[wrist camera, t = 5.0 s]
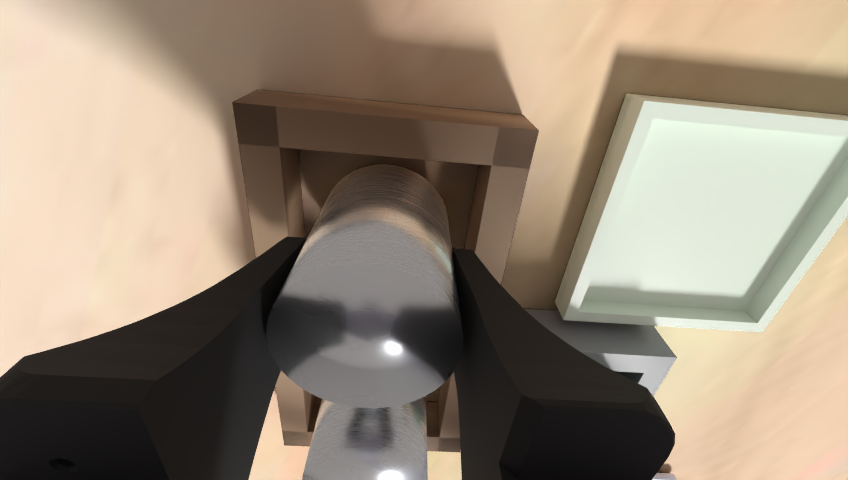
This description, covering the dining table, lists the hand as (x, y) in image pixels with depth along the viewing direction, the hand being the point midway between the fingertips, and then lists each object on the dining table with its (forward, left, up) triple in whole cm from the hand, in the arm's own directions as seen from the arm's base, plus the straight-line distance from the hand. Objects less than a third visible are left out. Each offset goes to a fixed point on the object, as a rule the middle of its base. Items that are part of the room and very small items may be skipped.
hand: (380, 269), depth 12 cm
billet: (0, 0, -2) cm, 2 cm away
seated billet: (-8, 0, -3) cm, 8 cm away
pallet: (-4, 0, -3) cm, 5 cm away
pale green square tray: (+1, -12, -3) cm, 13 cm away
